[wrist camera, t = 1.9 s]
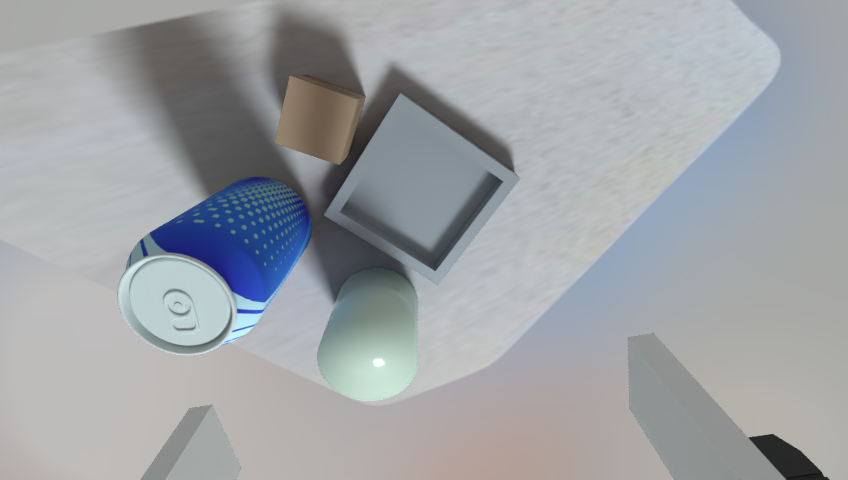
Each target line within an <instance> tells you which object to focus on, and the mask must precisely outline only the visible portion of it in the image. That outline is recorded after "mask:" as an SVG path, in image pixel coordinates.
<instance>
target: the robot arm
mask: <svg viewBox="0 0 848 480" xmlns="http://www.w3.org/2000/svg"><path fill="white" fill-rule="evenodd" d="M628 365H629V409H630V410H631V412H632V413H633V415H634V417H635V418H636V420H637V421H638V423H639V424H640V426H641V428H642V429H643V431H644V432H645V434H646V436H647V437H648V439H649V440H650V442H651V443H652V445H653V447H654V448H655V450H656V451H657V453H658V455H659V456H660V458H661V460H662V461H663V463H664V464H665V466H666V467H667V469H668V471H669V472H670V474H671V476H672V477H673V479H674V480H829V479H828V478H827V477H824V476H823V474H822V472H821V471H820V470H819V469H818V468H817V467H816V466H815V465H814V464H813V463H812V462H811V461H810V460H809V459H808V458H807V457H806V456H805V455H804V454H803V453H802V452H801V451H800V450H798V449H797V448H795V447H793V446H792V445H790V444H788V443H787V442H785V441H783V440H782V439H780V438H778V437H777V436H775V435H773V434H770V435H764V436H756V437H749V438H748V437H747V436H746V435H745V434H744V433H743V431H742V430H741V429H740V428H739V427H738V426H737V425H736V424H735V423H734V422H733V420H732V419H731V418H730V417H729V416H728V415H727V414H726V413H725V412H724V411H723V410H722V408H721V407H720V406H719V405H718V404H717V403H716V402H715V401H714V399H713V398H712V397H711V396H710V395H709V394H708V393H707V392H706V391H705V389H703V387H702V386H701V385H700V384H699V383H698V382H697V381H696V380H695V378H694V377H693V376H692V375H691V374H690V373H689V372H688V371H687V370H686V368H685V367H684V366H683V365H682V364H681V363H680V362H679V361H678V360H677V358H676V357H675V356H674V355H673V354H672V353H671V352H670V351H669V350H668V348H666V346H665V345H664V344H663V343H662V342H661V341H660V340H659V339H658V337H657V336H656V335H655V334H654V333H651V334H645V335H639V336H633V337H628ZM240 470H241V466H240V463H239V461H238V459H237V457H236V455H235V453H234V450H233V448H232V446H231V444H230V442H229V440H228V437H227V435H226V433H225V431H224V429H223V427H222V424H221V422H220V420H219V418H218V416H217V414H216V411H215V409H214V407H213V405H207V406H201V407H195V408H189V410H188V411H187V413H186V414H185V416H184V417H183V419H182V420H181V422H180V423H179V425H178V426H177V428H176V429H175V430H174V432H173V433H172V435H171V436H170V438H169V439H168V440H167V442H166V443H165V445H164V446H163V448H162V449H161V451H160V452H159V454H158V455H157V456H156V458H155V459H154V461H153V462H152V464H151V465H150V467H149V468H148V470H147V471H146V472H145V474H144V475H143V477H142V478H141V480H236V478H237V476H238V474H239V472H240Z"/></svg>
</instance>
